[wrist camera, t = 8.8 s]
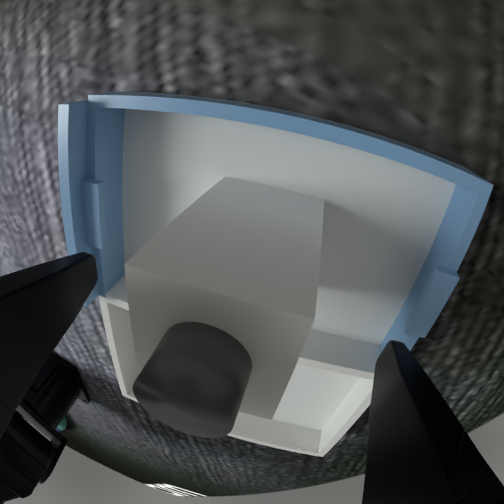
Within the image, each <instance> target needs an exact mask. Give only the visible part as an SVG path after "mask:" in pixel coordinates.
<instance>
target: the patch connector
mask: <svg viewBox="0 0 504 504" xmlns="http://www.w3.org/2000/svg"><path fill="white" fill-rule="evenodd" d="M323 212H324V199H320V198H316V197H312V196H308V195H304V194H300V193H296V192H292V191H288V190H284V189H280V188H275V187H271V186H267V185H262V184H258V183H254V182H249V181H244V180H240V179H235V178H230V177H226V176H225V177H224V178H222V179H221V180H220V181H219V182H218V183H216V184H215V185H214V186H213V187H211V188H210V189H209V190H208V191H207V192H205V193H204V194H203V195H202V196H201V197H199V198H198V199H197V200H196V201H195V202H193V203H192V204H191V205H190V206H189V207H188V208H186V209H185V210H184V211H183V212H182V213H181V214H179V215H178V216H177V217H176V218H175V219H174V220H173V221H171V222H170V223H169V224H168V225H167V226H166V227H165V228H163V229H162V230H161V231H160V232H159V233H158V234H157V235H156V236H154V237H153V238H152V239H151V240H150V241H149V242H148V243H147V244H146V245H145V246H143V247H142V248H141V249H140V250H139V251H138V252H137V253H136V254H135V255H134V256H133V257H132V258H130V259H129V260H128V261H127V262H126V263H125V264H124V266H125V277H126V287H127V297H128V305H129V313H130V321H131V328H132V335H133V341H134V348H135V354H136V359H137V365H138V370H139V375H138V377H137V378H136V380H135V382H134V384H133V393H134V396H135V397H136V399H137V401H138V402H139V404H140V405H141V406H142V407H143V408H144V409H145V410H146V411H147V412H148V413H149V414H150V415H152V416H153V417H154V418H156V419H157V420H159V421H160V422H162V423H163V424H165V425H167V426H169V427H171V428H173V429H175V430H177V431H180V432H183V433H185V434H189V435H192V436H197V437H203V438H219V437H223V436H226V435H228V434H229V433H230V432H231V431H232V429H233V427H234V424H235V421H236V418H237V415H238V412H239V411H240V412H243V413H247V414H250V415H254V416H258V417H262V418H266V419H270V420H272V418H273V416H274V414H275V412H276V409H277V407H278V405H279V403H280V401H281V399H282V396H283V394H284V392H285V390H286V387H287V385H288V383H289V380H290V378H291V376H292V374H293V371H294V369H295V367H296V364H297V362H298V359H299V357H300V355H301V352H302V350H303V347H304V345H305V342H306V340H307V337H308V335H309V332H310V330H311V327H312V325H313V322H314V319H315V311H316V302H317V292H318V281H319V270H320V257H321V244H322V229H323Z"/></svg>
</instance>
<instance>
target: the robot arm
mask: <svg viewBox="0 0 504 504" xmlns="http://www.w3.org/2000/svg"><path fill="white" fill-rule="evenodd" d="M97 280H98V273H97V265H96V258H95V256H94V255H92V254H90V253H87V252H80V253H76V254H73V255H70V256H66V257H63V258H59V259H56V260H52V261H49V262H46V263H42V264H39V265H36V266H33V267H29V268H26V269H23V270H20V271H16V272H13V273H10V274H7V275H4V276H1V277H0V504H3V503H4V502H6V501H9V500H12V499H15V498H19V497H21V498H25V497H27V496H29V495H31V494H32V492H33V490H34V488H35V487H36V485H37V484H38V483H40V484H42V483H44V482H45V481H46V480H47V478H48V477H49V476H50V474H51V473H52V471H53V469H54V467H55V465H56V463H57V461H58V459H59V457H60V455H61V453H62V451H63V449H64V447H65V445H66V443H67V441H68V439H67V438H65V437H64V436H62V435H60V434H59V433H58V432H57V431H56V428H57V427H58V425H59V424H60V422H61V421H62V419H63V418H64V416H65V415H66V414H67V412H68V411H69V409H70V408H71V406H72V405H73V404H74V402H75V401H76V399H77V398H78V399H80V400H81V401H83V402H85V403H87V404H89V402H90V399H89V397H88V395H87V392H86V390H85V388H84V386H83V383H82V381H81V379H80V376H79V374H78V371H77V370H76V369H75V368H74V367H73V366H71V365H69V364H68V363H66V362H64V361H62V360H61V359H59V358H57V357H56V356H54V355H52V354H51V353H52V351H53V350H54V349H55V347H56V346H57V344H58V343H59V341H60V340H61V338H62V337H63V336H64V334H65V333H66V331H67V330H68V328H69V327H70V326H71V324H72V323H73V321H74V320H75V318H76V317H77V315H78V313H79V312H80V310H81V308H82V307H83V305H84V303H85V302H86V300H87V298H88V297H89V295H90V293H91V292H92V290H93V288H94V287H95V285H96V283H97ZM16 409H17V410H18V411H19V412H20V413H21V414H22V415H23V416H24V417H25V418H26V419H27V420H28V421H29V422H30V423H32V424H33V425H34V426H35V427H36V428H37V429H38V430H39V431H41V432H42V433H43V434H44V435H45V436H47V437H48V438H49V439H50V440H51V441H49V440H48V439H46V438H45V437H44V436H43V435H42V434H40V433H39V432H38V431H37V430H36V429H35V428H33V427H32V426H31V425H30V424H29V423H28V422H27V421H26V420H25V419H24V418H23V417H22V416H21V415H19V414H18V413H17V412H16ZM362 504H504V486H503V484H502V483H501V482H500V480H499V479H498V477H497V476H496V475H495V473H494V472H493V471H492V469H491V468H490V467H489V465H488V464H487V463H486V461H485V460H484V458H483V457H482V456H481V454H480V453H479V451H478V450H477V448H476V446H475V445H474V444H473V442H472V440H471V439H470V437H469V436H468V434H467V432H464V428H463V426H462V425H461V423H460V422H459V420H458V419H457V417H456V416H455V414H454V413H453V411H452V410H451V408H450V407H449V405H448V404H447V402H446V401H445V400H444V398H443V397H442V395H441V394H440V392H439V391H438V389H437V388H436V387H435V385H434V384H433V382H432V381H431V379H430V378H429V377H428V375H427V374H426V372H425V371H424V370H423V368H422V367H421V366H420V364H419V363H418V361H417V360H416V359H415V357H414V356H413V355H412V353H411V352H410V351H409V349H408V348H407V346H406V345H405V344H404V343H403V342H400V341H396V340H390V341H389V342H388V343H387V344H386V346H385V347H384V349H383V351H382V352H381V354H380V355H379V357H378V359H377V361H376V364H375V371H374V380H373V388H372V396H371V403H370V411H369V429H368V447H367V460H366V472H365V482H364V491H363V499H362Z"/></svg>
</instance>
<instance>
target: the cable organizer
mask: <svg viewBox="0 0 504 504" xmlns="http://www.w3.org/2000/svg"><path fill="white" fill-rule="evenodd" d="M58 160H59V180H60V193H61V204H62V214H63V223H64V230H65V238H66V244H67V251H68V256H70V255H73V254H76V253H80V252H87V253H90V254H92V255H94V256H95V258H96V265H97V273H98V280H97V283H96V285H95V287H94V288H93V290H92V292H91V293H90V295H89V297H88V298H87V300H86V302H85V303H84V305H83V306H85V307H87V306H88V305H89V304H90V303H91V302H92V301H93V300H94V299H95V298H96V297H97V296H98V295H99V300H100V305H101V311H102V316H103V321H104V326H105V330H106V335H107V339H108V344H109V348H110V352H111V356H112V360H113V364H114V368H115V371H116V375H117V379H118V382H119V386H120V389H121V392H122V395H123V396H125V397H127V398H129V399H131V400H134V401H136V402H138V401H137V399H136V397H135V396H134V393H133V384H134V382H135V380H136V378H137V377H138V375H139V370H138V365H137V359H136V354H135V348H134V341H133V335H132V328H131V321H130V313H129V305H128V297H127V287H126V277H125V266H124V264H125V263H126V262H127V261H128V260H129V259H130V258H132V257H133V256H134V255H135V254H136V253H137V252H138V251H139V250H140V249H141V248H142V247H143V246H145V245H146V244H147V243H148V242H149V241H150V240H151V239H152V238H153V237H154V236H156V235H157V234H158V233H159V232H160V231H161V230H162V229H163V228H165V227H166V226H167V225H168V224H169V223H170V222H171V221H173V220H174V219H175V218H176V217H177V216H178V215H179V214H181V213H182V212H183V211H184V210H185V209H186V208H188V207H189V206H190V205H191V204H192V203H193V202H195V201H196V200H197V199H198V198H199V197H201V196H202V195H203V194H204V193H205V192H207V191H208V190H209V189H210V188H211V187H213V186H214V185H215V184H216V183H218V182H219V181H220V180H221V179H222V178H224V177H225V176H226V177H230V178H235V179H240V180H244V181H249V182H254V183H258V184H262V185H267V186H271V187H275V188H280V189H284V190H288V191H292V192H296V193H300V194H304V195H308V196H312V197H316V198H320V199H324V212H323V229H322V244H321V257H320V270H319V281H318V292H317V302H316V311H315V319H314V322H313V325H312V327H311V330H310V332H309V335H308V337H307V340H306V342H305V345H304V347H303V350H302V352H301V355H300V357H299V359H298V362H297V364H296V367H295V369H294V371H293V374H292V376H291V378H290V380H289V383H288V385H287V387H286V390H285V392H284V394H283V396H282V399H281V401H280V403H279V405H278V407H277V409H276V412H275V414H274V416H273V418H272V420H270V419H266V418H262V417H258V416H254V415H250V414H247V413H243V412H240V411H239V412H238V415H237V418H236V421H235V424H234V427H233V429H232V431H231V432H230V433H229V434H228V436H231V437H235V438H238V439H242V440H246V441H249V442H253V443H257V444H261V445H265V446H269V447H274V448H278V449H283V450H287V451H292V452H297V453H303V454H308V455H314V456H320V457H323V456H324V455H325V454H326V453H327V452H328V451H329V450H330V449H331V448H332V447H333V446H334V445H335V444H336V443H337V442H338V441H339V439H340V438H341V437H342V436H343V435H344V434H345V433H346V432H347V431H348V430H349V429H350V427H351V426H352V425H353V424H354V423H355V422H356V421H357V419H358V418H359V417H360V416H361V415H362V414H363V412H364V411H365V410H366V409H367V408H368V406H369V405H370V403H371V396H372V388H373V380H374V371H375V364H376V361H377V359H378V357H379V355H380V354H381V352H382V351H383V349H384V347H385V346H386V344H387V343H388V342H389V341H390V340H396V341H400V342H403V343H404V344H405V345H406V346H407V348H408V349H409V351H410V350H411V349H412V347H413V346H414V344H415V343H416V341H417V340H418V338H419V337H422V338H425V337H426V335H427V334H428V332H429V330H430V329H431V327H432V326H433V324H434V322H435V321H436V319H437V318H438V316H439V314H440V313H441V311H442V309H443V308H444V306H445V304H446V302H447V301H448V299H449V297H450V295H451V294H452V292H453V290H454V288H455V286H456V284H457V283H458V281H459V279H460V277H459V275H458V273H457V270H458V268H459V266H460V264H461V262H462V260H463V258H464V256H465V254H466V252H467V250H468V248H469V245H470V243H471V241H472V239H473V237H474V234H475V232H476V230H477V227H478V225H479V222H480V220H481V218H482V215H483V212H484V210H485V207H486V205H487V202H488V199H489V197H490V194H491V191H492V188H493V185H492V184H491V183H489V182H488V181H486V180H485V179H483V178H482V177H480V176H479V175H477V174H475V173H474V172H472V171H471V170H469V169H467V168H465V167H463V166H461V165H458V164H456V163H454V162H451V161H449V160H447V159H444V158H442V157H439V156H437V155H434V154H432V153H429V152H427V151H424V150H422V149H419V148H416V147H414V146H411V145H408V144H405V143H403V142H400V141H397V140H394V139H391V138H388V137H385V136H382V135H379V134H376V133H372V132H369V131H366V130H363V129H359V128H356V127H352V126H349V125H345V124H342V123H338V122H334V121H330V120H326V119H322V118H318V117H314V116H310V115H306V114H301V113H297V112H292V111H288V110H283V109H278V108H273V107H267V106H262V105H256V104H250V103H244V102H238V101H231V100H224V99H216V98H208V97H199V96H189V95H178V94H165V93H148V92H113V93H103V94H94V95H88V100H83V101H77V102H71V103H65V104H59V111H58ZM138 403H139V402H138Z"/></svg>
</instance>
